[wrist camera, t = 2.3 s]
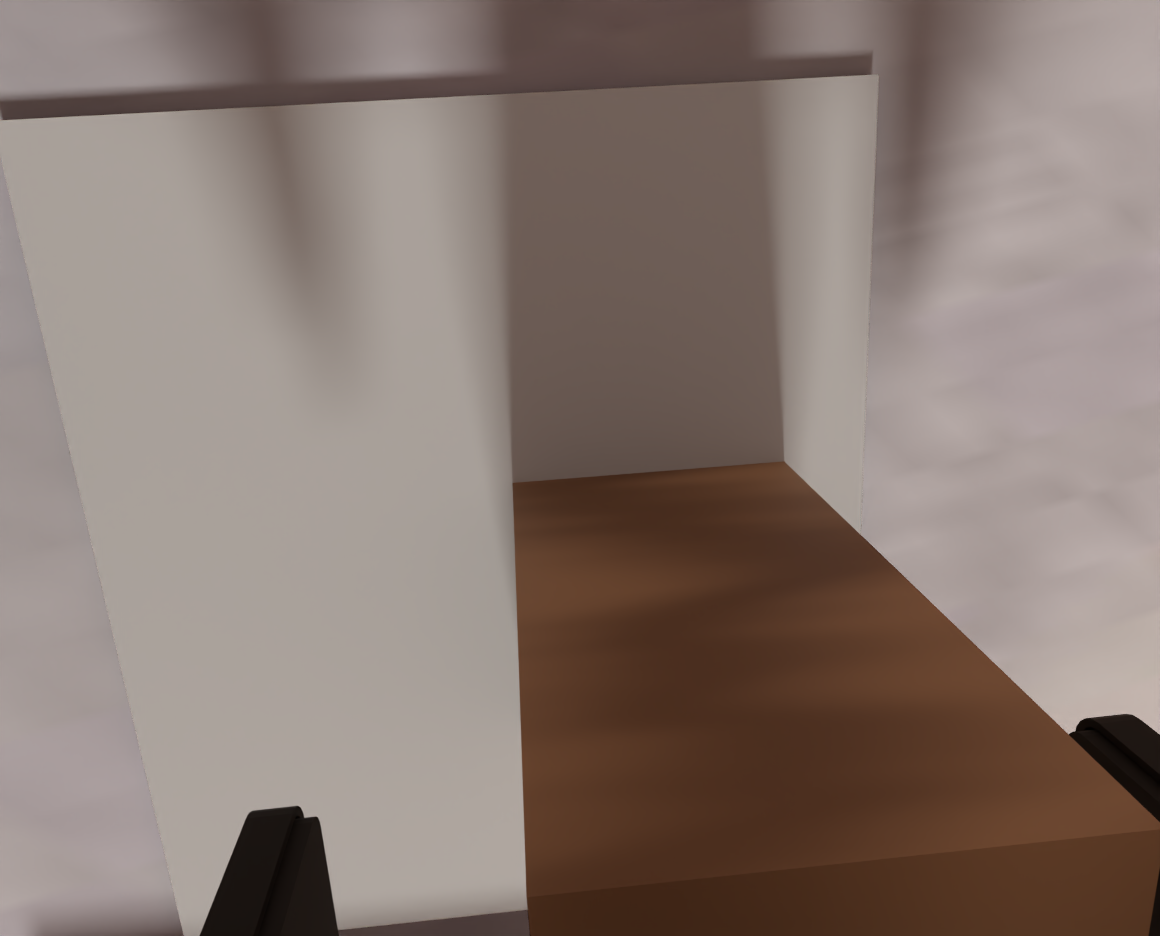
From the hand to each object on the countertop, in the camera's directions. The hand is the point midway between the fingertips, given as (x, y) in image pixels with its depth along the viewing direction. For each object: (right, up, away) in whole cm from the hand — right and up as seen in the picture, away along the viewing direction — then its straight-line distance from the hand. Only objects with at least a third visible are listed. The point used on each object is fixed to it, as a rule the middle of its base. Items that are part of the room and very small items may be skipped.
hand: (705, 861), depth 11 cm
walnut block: (0, +2, +6) cm, 7 cm away
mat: (-3, +3, +6) cm, 7 cm away
